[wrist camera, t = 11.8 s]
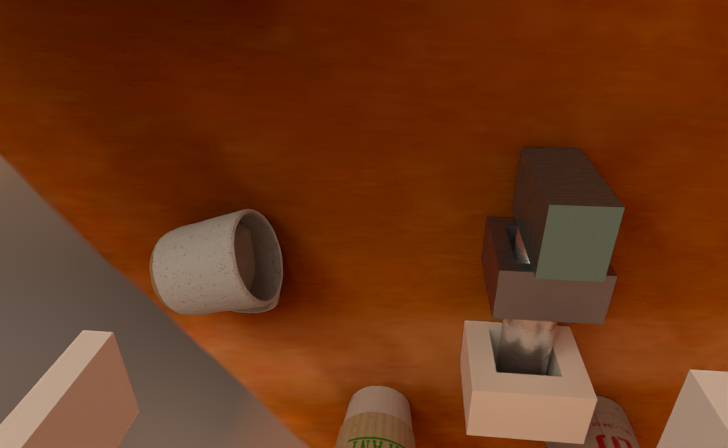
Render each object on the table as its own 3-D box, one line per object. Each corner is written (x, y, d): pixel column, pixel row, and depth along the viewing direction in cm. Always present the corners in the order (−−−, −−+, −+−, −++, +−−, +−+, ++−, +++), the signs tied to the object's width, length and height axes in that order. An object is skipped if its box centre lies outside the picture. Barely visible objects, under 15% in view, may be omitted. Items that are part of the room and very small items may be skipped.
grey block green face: (521, 147, 35) (549, 204, 28) (579, 148, 35) (624, 207, 27) (490, 351, 45) (504, 437, 37) (535, 354, 45) (559, 442, 37)
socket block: (464, 320, 44) (472, 390, 37) (569, 326, 43) (597, 399, 36) (460, 361, 47) (466, 434, 40) (559, 368, 46) (583, 444, 39)
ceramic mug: (170, 216, 42) (123, 269, 36) (255, 190, 40) (223, 242, 33) (227, 310, 47) (195, 372, 40) (306, 292, 45) (287, 354, 38)
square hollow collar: (486, 216, 39) (499, 270, 33) (584, 220, 38) (617, 276, 32) (481, 259, 41) (492, 318, 35) (574, 263, 40) (603, 324, 34)
